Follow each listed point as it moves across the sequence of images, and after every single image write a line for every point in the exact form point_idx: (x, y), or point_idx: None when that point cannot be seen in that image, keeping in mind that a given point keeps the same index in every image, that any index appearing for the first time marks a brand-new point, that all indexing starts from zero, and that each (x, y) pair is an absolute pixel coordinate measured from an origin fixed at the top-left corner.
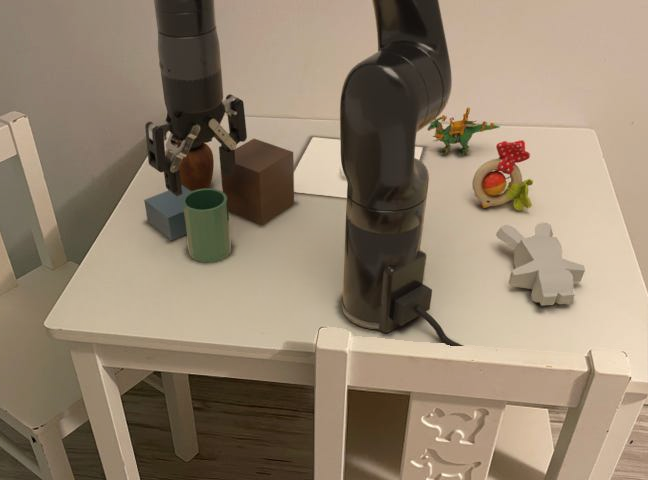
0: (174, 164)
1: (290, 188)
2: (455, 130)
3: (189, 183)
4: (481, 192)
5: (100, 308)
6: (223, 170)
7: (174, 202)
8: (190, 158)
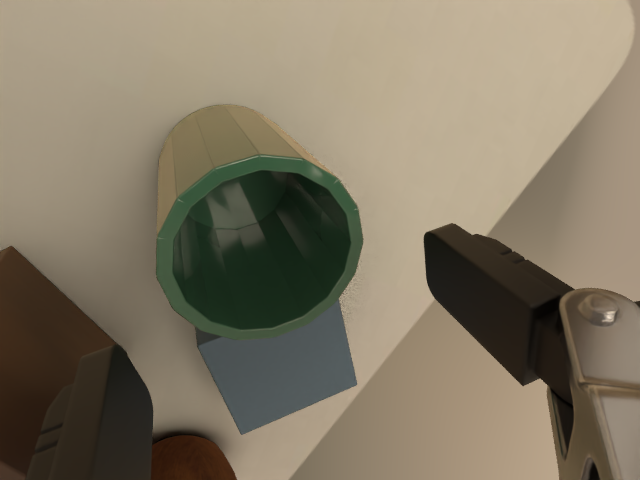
0: (622, 330)
1: None
2: None
3: (203, 453)
4: None
5: (559, 40)
6: (140, 391)
7: (292, 360)
8: None
